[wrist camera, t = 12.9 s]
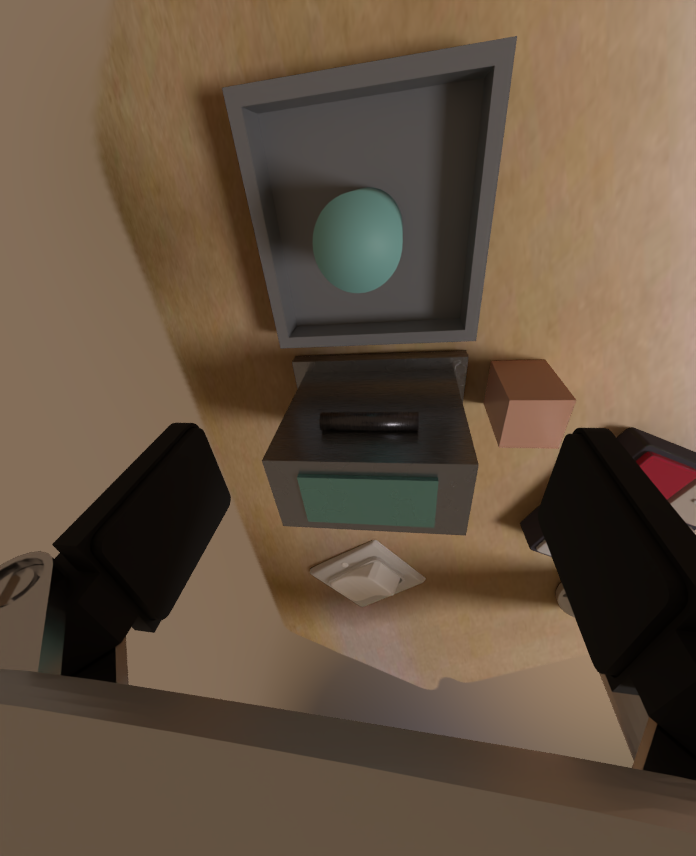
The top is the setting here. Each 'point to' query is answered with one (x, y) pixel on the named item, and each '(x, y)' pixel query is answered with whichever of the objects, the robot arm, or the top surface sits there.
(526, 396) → the terracotta block
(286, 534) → the top surface
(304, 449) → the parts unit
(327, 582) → the light switch
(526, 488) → the top surface
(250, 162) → the parts tray
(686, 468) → the calculator
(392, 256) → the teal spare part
